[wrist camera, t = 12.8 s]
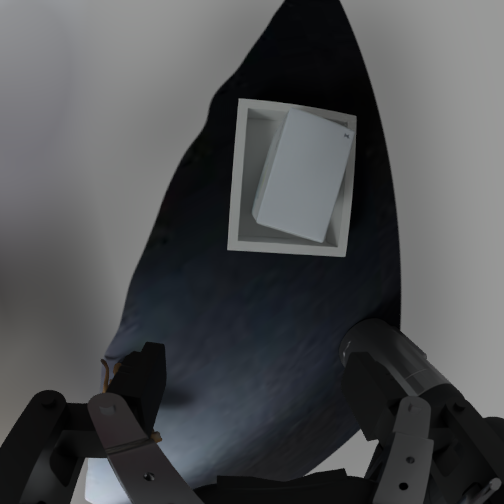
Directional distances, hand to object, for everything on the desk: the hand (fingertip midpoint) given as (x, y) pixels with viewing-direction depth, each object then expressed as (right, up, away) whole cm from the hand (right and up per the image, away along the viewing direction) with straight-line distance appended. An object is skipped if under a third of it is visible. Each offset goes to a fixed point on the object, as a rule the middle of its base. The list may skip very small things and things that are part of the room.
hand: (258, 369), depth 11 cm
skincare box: (+4, +13, +21) cm, 26 cm away
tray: (+4, +14, +22) cm, 26 cm away
